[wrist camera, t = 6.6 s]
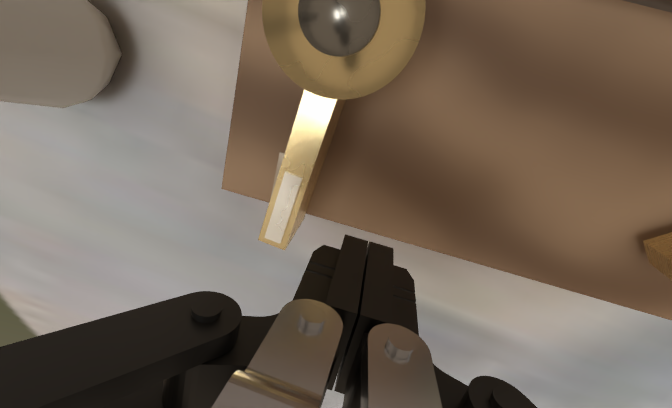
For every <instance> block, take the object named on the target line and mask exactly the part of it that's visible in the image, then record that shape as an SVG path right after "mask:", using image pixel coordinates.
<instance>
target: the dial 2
mask: <svg viewBox="0 0 672 408" xmlns="http://www.w3.org/2000/svg"><path fill="white" fill-rule="evenodd" d="M643 243H644V246H645V250H646V254H647V257H648V261H649V264H651V265H652V266H653V267H655V268H656V269H657V270H659V271H660V272H661V273H662V274H664V275H665V276H666V277H668V278H669V279H670V280H672V232H671V233H667V234H664V235H661V236H657V237H654V238H651V239H647V240H644V241H643Z"/></svg>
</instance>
